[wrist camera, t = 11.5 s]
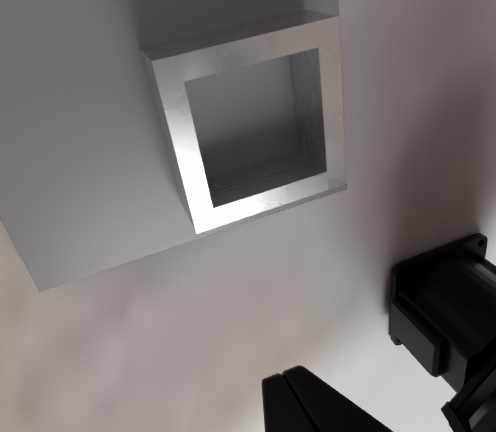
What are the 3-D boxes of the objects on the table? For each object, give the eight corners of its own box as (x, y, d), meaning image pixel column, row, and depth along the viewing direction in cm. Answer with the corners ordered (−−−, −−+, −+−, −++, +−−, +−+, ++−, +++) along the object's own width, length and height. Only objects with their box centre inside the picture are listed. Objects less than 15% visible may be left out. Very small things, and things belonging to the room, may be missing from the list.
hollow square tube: (304, 9, 17) (338, 16, 15) (316, 160, 20) (346, 183, 18) (138, 47, 15) (151, 61, 13) (181, 203, 19) (196, 233, 17)
